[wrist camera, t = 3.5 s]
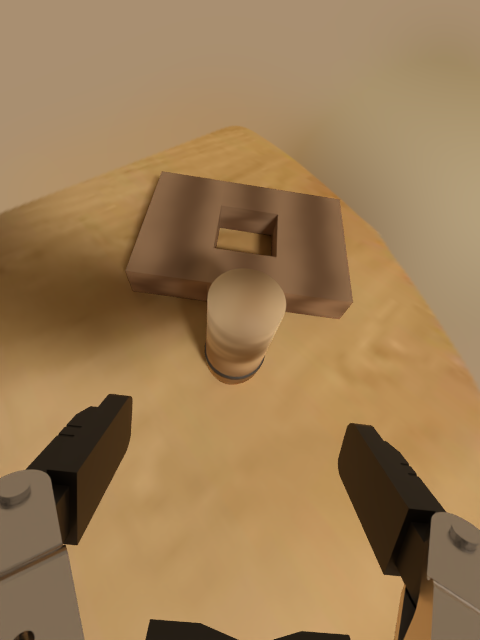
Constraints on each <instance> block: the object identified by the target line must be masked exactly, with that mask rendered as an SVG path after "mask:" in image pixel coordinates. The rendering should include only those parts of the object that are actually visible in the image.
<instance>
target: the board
mask: <svg viewBox="0 0 480 640" xmlns="http://www.w3.org/2000/svg"><path fill="white" fill-rule="evenodd" d="M220 228H226V229H233V230H239V231H246V232H253V233H259V234H266V235H272V247H271V256H265V255H258V254H251V253H244V252H237V251H231V250H224V249H217V248H216V246H217V240H218V234H219V229H220ZM241 268H246V269H253V270H257V271H260V272H263V273H265V274H267V275H268V276H270V277H271V278H273V279H274V280H275V281H276V282H277V283H278V284H279V286H280V287H281V289H282V290H283V292H284V295H285V299H286V310H285V312H291V313H298V314H306V315H313V316H320V317H328V318H335V319H340V317H341V316H342V315H343V314H344V313H345V311H346V310H347V309H348V308H349V307H350V305H351V304H352V303H353V299H352V291H351V284H350V276H349V268H348V261H347V253H346V245H345V238H344V230H343V222H342V215H341V207H340V200H339V199H333V198H327V197H320V196H314V195H308V194H301V193H295V192H289V191H283V190H276V189H270V188H264V187H257V186H251V185H245V184H238V183H232V182H226V181H220V180H213V179H207V178H201V177H194V176H188V175H182V174H175V173H169V172H163V171H162V173H161V175H160V178H159V181H158V184H157V186H156V189H155V192H154V194H153V197H152V200H151V203H150V205H149V208H148V211H147V213H146V216H145V219H144V222H143V224H142V227H141V230H140V232H139V235H138V238H137V241H136V243H135V246H134V249H133V251H132V254H131V257H130V259H129V262H128V265H127V268H126V270H125V271H126V274H127V277H128V279H129V282H130V285H131V288H132V290H133V291H136V292H144V293H151V294H158V295H166V296H173V297H180V298H188V299H195V300H203V301H207V298H208V292H209V289H210V286H211V285H212V283H213V282H214V281H215V279H216V278H218V277H219V276H220V275H222V274H223V273H225V272H227V271H230V270H234V269H241Z"/></svg>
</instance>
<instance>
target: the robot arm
mask: <svg viewBox="0 0 480 640" xmlns="http://www.w3.org/2000/svg"><path fill="white" fill-rule="evenodd" d="M131 421H132V397H131V396H124V395H116V394H109V395H108V396H107V397H106V398H105V399H104V401H103V402H102V403H101V404H100V405H99V407H92V406H90V407H89V408H87V409H85V410H83V411H81V412H80V413H78V414H76V415H75V416H74V418H73V419H72V420H71V421H70V422H69V423H68V424H67V426H66V427H64V428H63V429H62V431H61V432H60V433H59V435H58V436H56V437H55V438H54V439H53V440H52V441H51V443H50V444H49V445H48V446H47V447H46V448H45V449H44V450H43V451H42V452H41V453H40V455H39V456H38V457H37V458H36V459H35V460H34V461H33V462H32V463H31V464H30V465H29V466H28V468H27V469H26V470H22V471H17V472H14V473H11V474H8V475H6V476H4V477H1V478H0V640H84V635H83V629H82V624H81V619H80V614H79V609H78V603H77V598H76V593H75V588H74V582H73V577H72V572H71V567H70V561H69V556H68V552H67V548H66V545H63V544H69V545H78V543H79V541H80V539H81V537H82V536H83V534H84V532H85V530H86V528H87V526H88V524H89V522H90V520H91V518H92V516H93V514H94V512H95V511H96V509H97V507H98V505H99V503H100V501H101V499H102V497H103V495H104V493H105V491H106V489H107V487H108V486H109V484H110V482H111V480H112V478H113V476H114V474H115V472H116V470H117V468H118V466H119V464H120V462H121V461H122V459H123V457H124V455H125V453H126V451H127V448H128V445H129V441H130V436H131ZM338 470H339V475H340V477H341V480H342V482H343V484H344V486H345V489H346V491H347V493H348V495H349V498H350V500H351V502H352V504H353V507H354V509H355V511H356V513H357V516H358V518H359V520H360V522H361V524H362V527H363V529H364V531H365V533H366V536H367V538H368V540H369V542H370V545H371V547H372V549H373V551H374V554H375V556H376V558H377V560H378V563H379V565H380V567H381V569H382V572H383V574H384V575H393V576H401V578H402V580H403V582H404V587H403V589H402V592H401V597H400V604H399V610H398V617H397V623H396V630H395V636H394V640H480V530H479V529H478V528H476V527H475V526H474V525H472V524H471V523H469V522H468V521H466V520H464V519H463V518H460V517H458V516H456V515H453V514H450V513H447V512H446V511H445V510H444V509H443V507H442V506H441V505H440V503H439V502H438V501H437V500H436V498H435V497H434V496H433V494H432V493H431V492H430V491H429V489H428V488H427V487H426V485H425V484H424V483H423V482H422V480H421V479H420V478H419V477H417V474H416V473H415V471H414V470H413V469H412V467H411V466H409V464H408V462H407V461H406V460H405V458H404V457H403V456H402V455H401V453H400V452H399V451H398V450H396V449H395V448H394V447H393V446H391V445H390V444H389V443H388V442H386V441H383V439H382V438H381V437H380V435H379V434H378V433H377V431H376V430H375V429H374V427H373V426H371V425H363V424H355V423H350V424H349V425H348V426H347V429H346V433H345V436H344V440H343V443H342V447H341V451H340V454H339V458H338ZM146 640H237V639H235V638H233V637H231V636H228V635H226V634H224V633H221V632H219V631H217V630H215V629H212V628H210V627H208V626H206V625H203V624H201V623H191V622H178V621H165V620H153V619H150V622H149V627H148V631H147V636H146ZM274 640H350V636H349V635H343V634H330V633H317V632H305V631H301V632H297V633H294V634H291V635H287V636H284V637H281V638H277V639H274Z"/></svg>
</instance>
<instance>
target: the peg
mask: <svg viewBox="0 0 480 640" xmlns="http://www.w3.org/2000/svg"><path fill="white" fill-rule="evenodd" d="M285 310H286V299H285V295H284V292H283V290H282V289H281V287H280V286H279V284H278V283H277V282H276V281H275V280H274V279H273V278H271V277H270V276H268V275H267V274H265V273H263V272H260V271H257V270H253V269H246V268H241V269H234V270H230V271H227V272H225V273H223V274H222V275H220V276H219V277H218V278H216V279H215V281H214V282H213V283H212V285H211V286H210V289H209V292H208V298H207V335H206V343H205V357H206V363H207V366H208V369H209V370H210V372H211V373H212V374H213V376H214V377H216V378H217V379H218V380H219V381H221V382H223V383H225V384H230V385H234V384H239V383H243V382H245V381H247V380H249V379H250V378H252V377H253V376H254V374H255V373H256V372H257V371H258V369H259V368H260V366H261V365H262V363H263V360H264V357H265V353H266V351H267V349H268V347H269V345H270V343H271V341H272V339H273V337H274V335H275V333H276V331H277V329H278V327H279V325H280V323H281V321H282V318H283V316H284V314H285Z"/></svg>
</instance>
